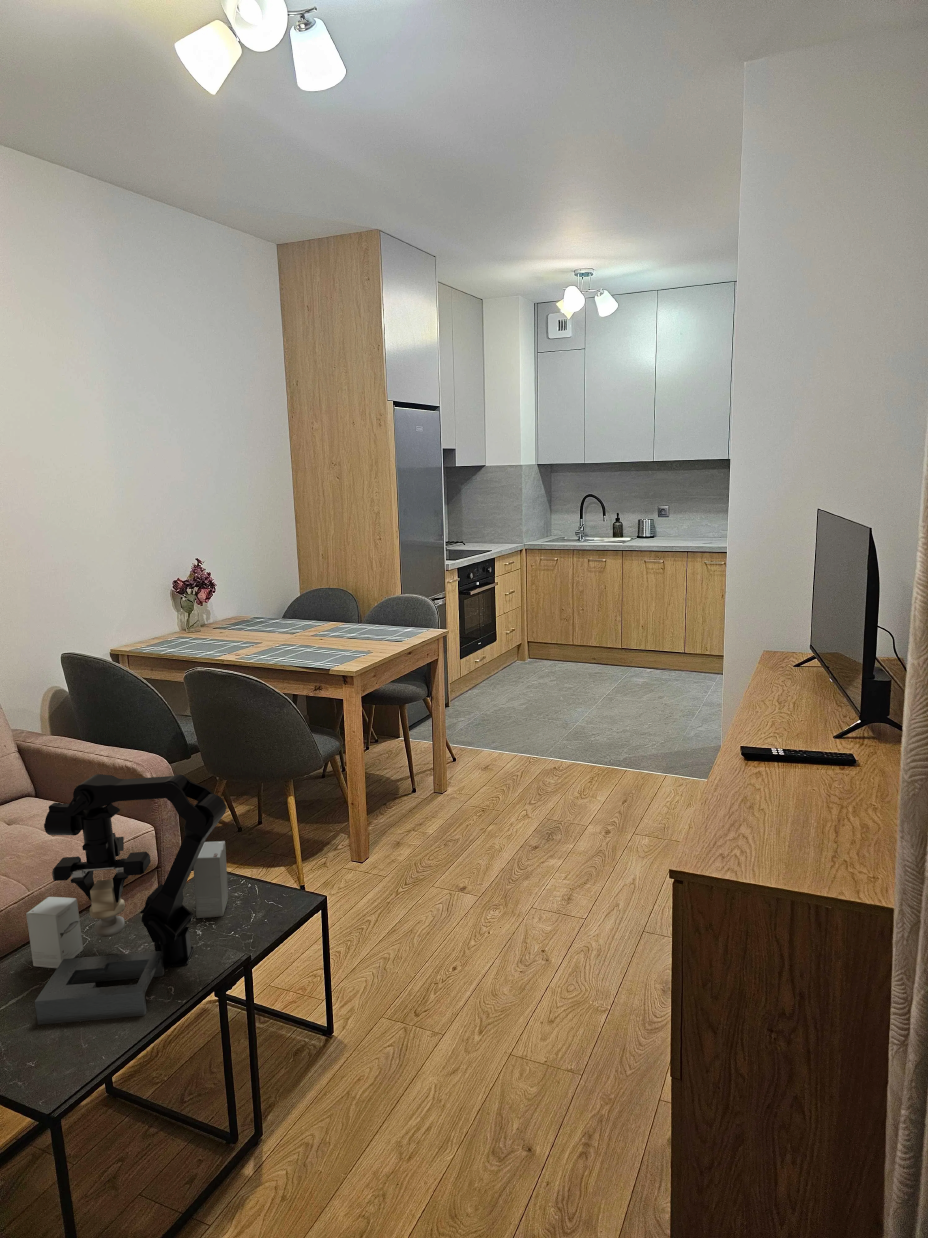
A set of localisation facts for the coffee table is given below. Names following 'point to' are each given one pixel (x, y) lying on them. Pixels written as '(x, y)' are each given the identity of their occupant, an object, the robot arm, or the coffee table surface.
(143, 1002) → the keyhole plate
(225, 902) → the skincare box
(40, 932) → the supplement box
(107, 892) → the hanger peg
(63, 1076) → the coffee table surface
